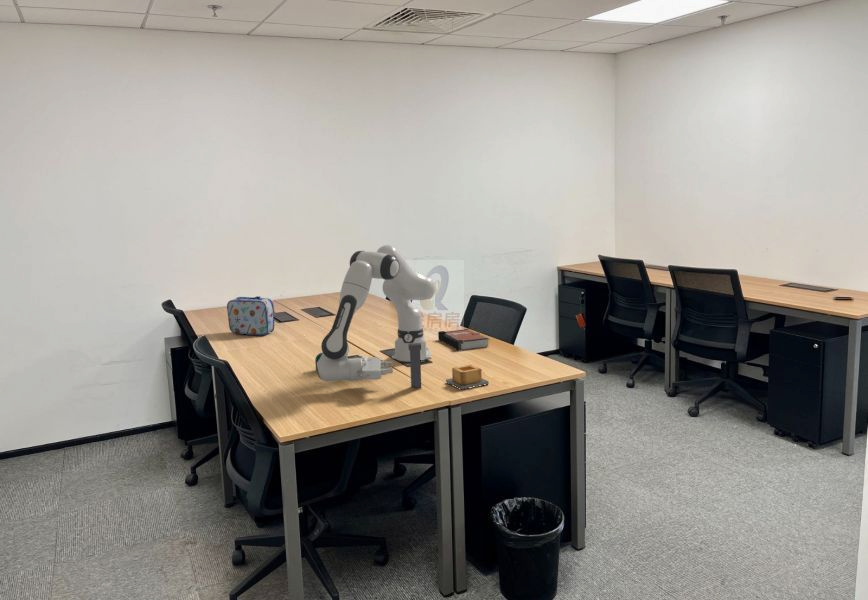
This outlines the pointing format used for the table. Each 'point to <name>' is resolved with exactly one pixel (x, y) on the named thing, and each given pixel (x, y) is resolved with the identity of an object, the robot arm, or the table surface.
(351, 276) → the robot arm
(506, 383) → the table surface
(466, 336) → the book
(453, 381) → the frame on grey plate
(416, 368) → the tall dark grey post
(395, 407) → the table surface
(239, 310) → the lunch box
